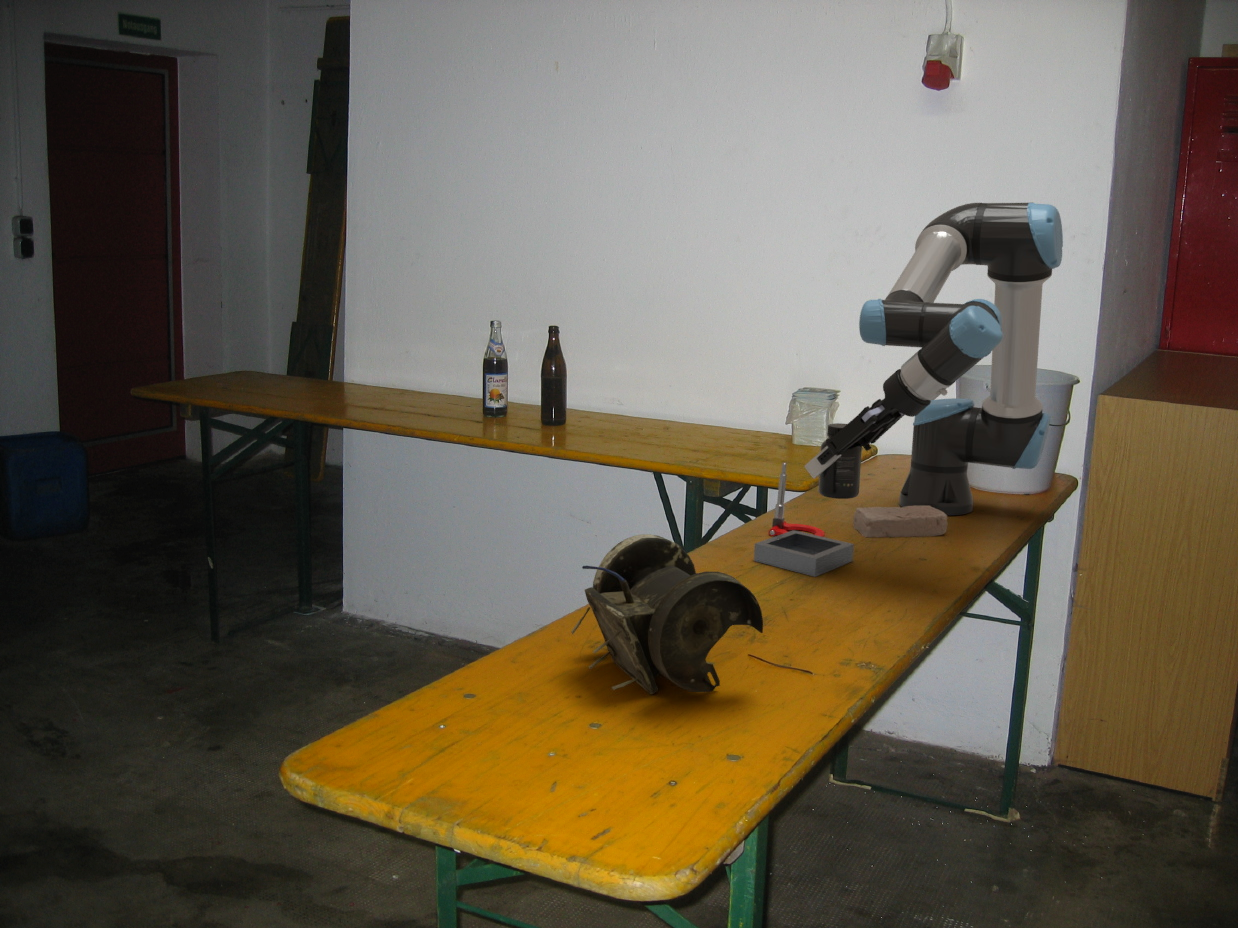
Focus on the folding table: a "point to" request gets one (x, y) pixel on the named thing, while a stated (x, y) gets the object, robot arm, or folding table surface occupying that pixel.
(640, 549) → the bench grinder
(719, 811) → the folding table surface
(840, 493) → the supplement bottle
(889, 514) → the brick
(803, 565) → the keeper tray
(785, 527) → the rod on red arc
